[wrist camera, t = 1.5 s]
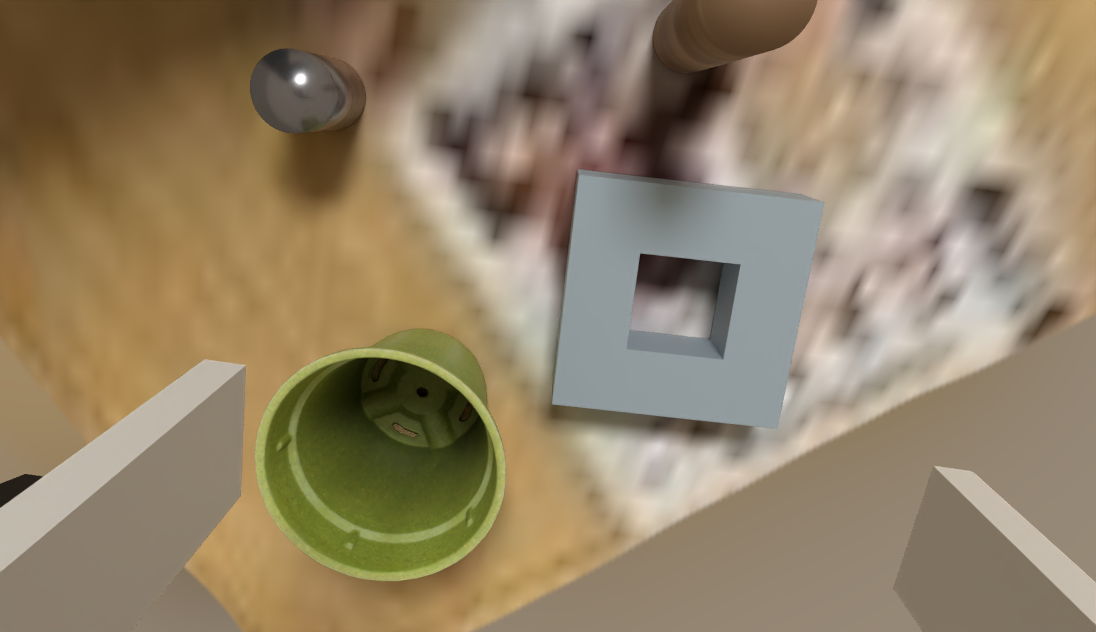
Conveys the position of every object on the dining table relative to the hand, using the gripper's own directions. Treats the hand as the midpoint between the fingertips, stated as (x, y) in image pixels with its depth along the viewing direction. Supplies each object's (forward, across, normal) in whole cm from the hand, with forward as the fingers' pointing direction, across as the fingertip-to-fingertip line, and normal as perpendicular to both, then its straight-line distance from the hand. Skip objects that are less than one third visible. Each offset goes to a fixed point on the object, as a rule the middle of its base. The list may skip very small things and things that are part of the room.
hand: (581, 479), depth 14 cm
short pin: (+21, -11, +6) cm, 24 cm away
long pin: (+21, +4, +10) cm, 23 cm away
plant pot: (+21, -6, -7) cm, 23 cm away
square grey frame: (+21, +5, -1) cm, 21 cm away
